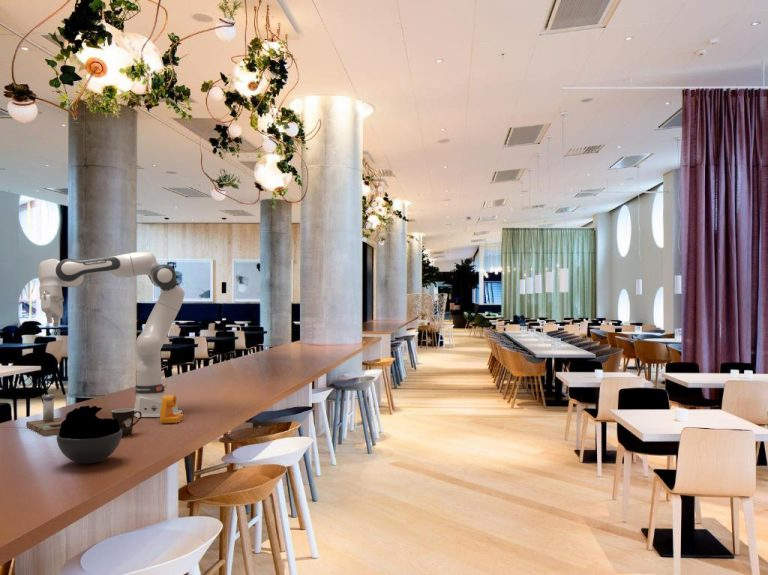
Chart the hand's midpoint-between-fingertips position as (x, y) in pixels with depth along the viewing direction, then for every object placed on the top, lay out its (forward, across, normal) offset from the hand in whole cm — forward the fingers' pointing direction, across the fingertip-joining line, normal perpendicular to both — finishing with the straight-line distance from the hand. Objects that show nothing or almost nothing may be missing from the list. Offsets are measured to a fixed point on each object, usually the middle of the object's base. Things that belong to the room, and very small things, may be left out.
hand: (52, 325), depth 276 cm
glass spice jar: (+42, +1, +4) cm, 42 cm away
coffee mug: (+54, -22, -30) cm, 65 cm away
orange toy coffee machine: (+50, +1, -46) cm, 68 cm away
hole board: (+46, -4, +2) cm, 46 cm away
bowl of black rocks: (+62, -63, -24) cm, 92 cm away
